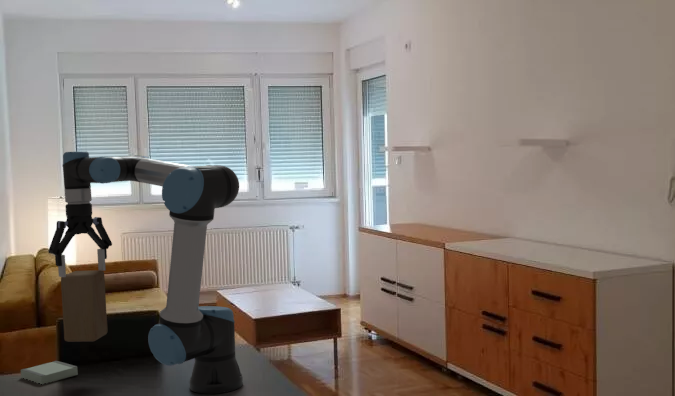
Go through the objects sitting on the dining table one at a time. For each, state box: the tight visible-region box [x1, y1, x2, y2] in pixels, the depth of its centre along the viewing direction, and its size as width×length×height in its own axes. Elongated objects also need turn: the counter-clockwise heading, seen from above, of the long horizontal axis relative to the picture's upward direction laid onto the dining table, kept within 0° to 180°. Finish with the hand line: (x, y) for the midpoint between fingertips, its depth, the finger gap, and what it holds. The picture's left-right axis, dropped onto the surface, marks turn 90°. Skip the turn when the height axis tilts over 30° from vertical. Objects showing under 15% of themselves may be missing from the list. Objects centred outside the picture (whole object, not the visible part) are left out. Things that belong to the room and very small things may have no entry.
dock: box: [20, 360, 79, 385], centre depth 236 cm, size 12×12×3 cm
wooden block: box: [60, 269, 108, 343], centre depth 231 cm, size 10×10×20 cm
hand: (82, 273), depth 230 cm, fingers closed on wooden block, 13 cm apart
